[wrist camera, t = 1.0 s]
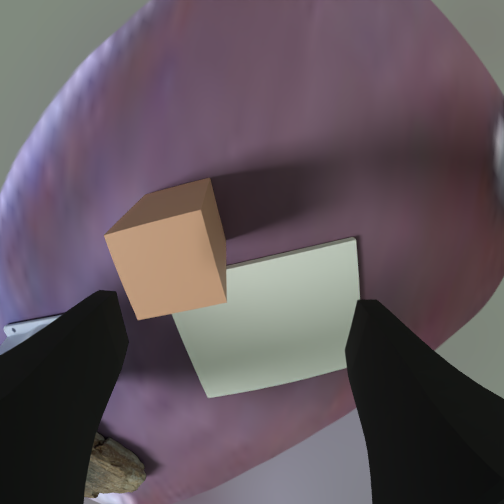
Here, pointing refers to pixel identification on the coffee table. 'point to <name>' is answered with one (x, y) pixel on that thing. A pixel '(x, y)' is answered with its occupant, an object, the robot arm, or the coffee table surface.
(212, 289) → the terracotta block
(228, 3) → the coffee table surface
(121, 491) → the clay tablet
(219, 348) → the grey mat
